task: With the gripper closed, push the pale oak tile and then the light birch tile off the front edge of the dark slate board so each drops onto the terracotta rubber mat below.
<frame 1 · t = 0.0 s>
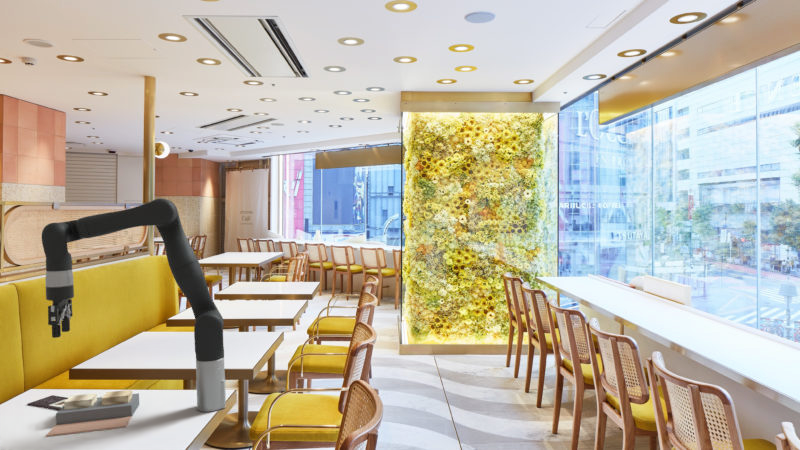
hand: (61, 334, 166), 29 cm above the table, tool pointing down, fingers open, 8 cm apart
chocolate bar: (57, 405, 186), on the table
oak tile: (117, 397, 176), point 5 cm above the table, touching slate board
rubber mat: (90, 426, 164), on the table
birch tile: (81, 401, 173), point 5 cm above the table, touching slate board
slate board: (99, 414, 174), on the table
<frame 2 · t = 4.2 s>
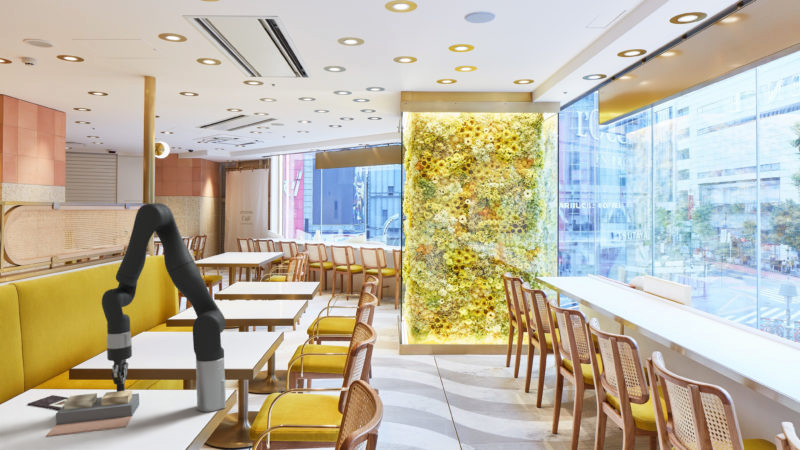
hand: (120, 394, 180), 5 cm above the table, tool pointing down, fingers closed
oak tile: (117, 397, 175), point 5 cm above the table, touching gripper
everything else where it was.
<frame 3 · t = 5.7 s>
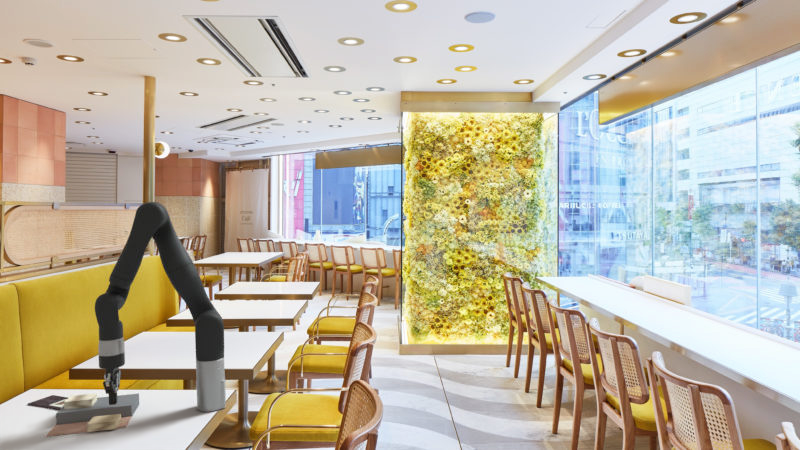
hand: (113, 403, 170), 5 cm above the table, tool pointing down, fingers closed
oak tile: (104, 422, 163), point 2 cm above the table, tilted 180°, touching rubber mat
everything else where it was.
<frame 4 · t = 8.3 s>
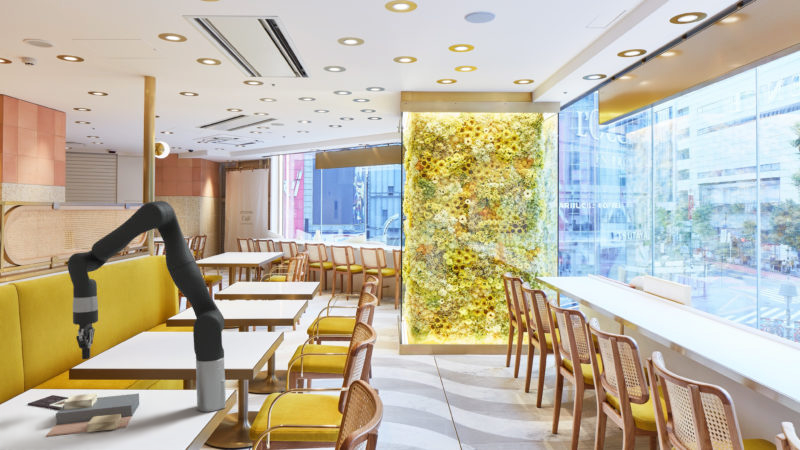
hand: (86, 358, 180), 18 cm above the table, tool pointing down, fingers closed
nothing on the table moved.
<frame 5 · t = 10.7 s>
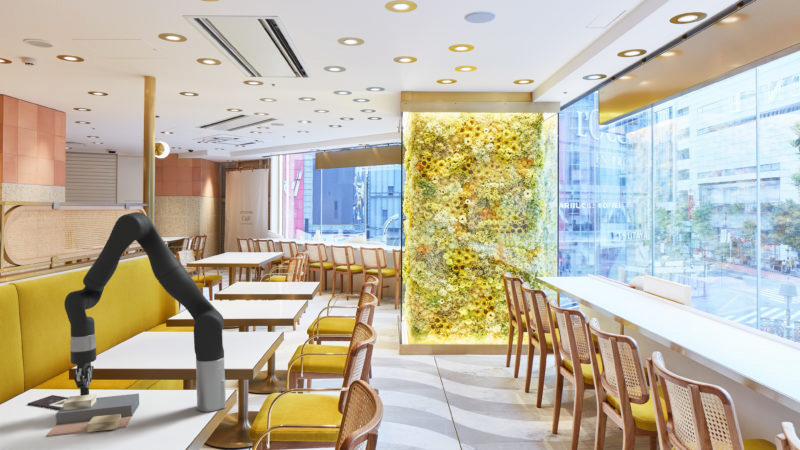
hand: (84, 397, 177), 5 cm above the table, tool pointing down, fingers closed
birch tile: (80, 401, 172), point 5 cm above the table
everything else where it was.
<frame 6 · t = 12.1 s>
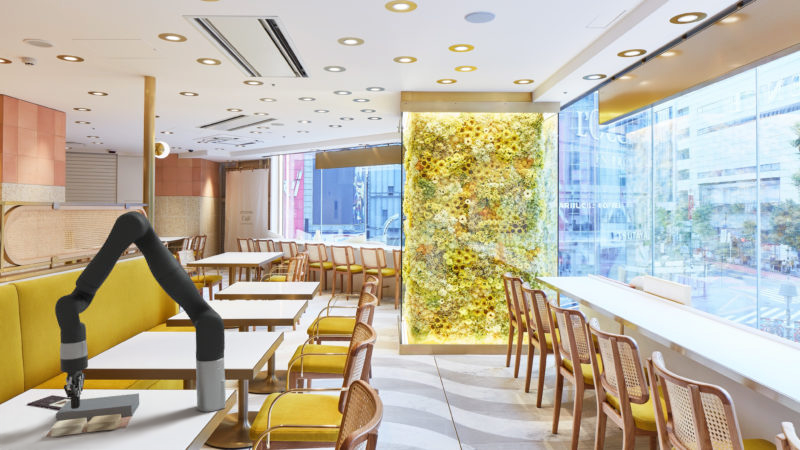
hand: (75, 407, 168), 5 cm above the table, tool pointing down, fingers closed
birch tile: (69, 426, 160), point 2 cm above the table, tilted 180°, touching rubber mat
everything else where it was.
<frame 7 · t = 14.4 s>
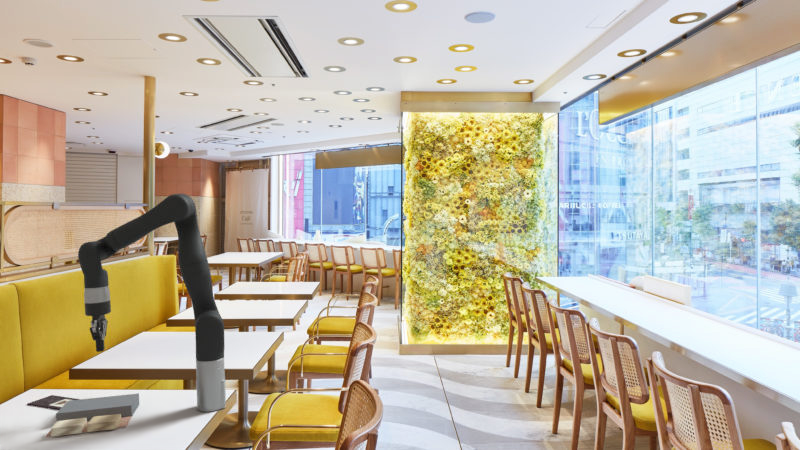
hand: (100, 350, 174), 22 cm above the table, tool pointing down, fingers closed
nothing on the table moved.
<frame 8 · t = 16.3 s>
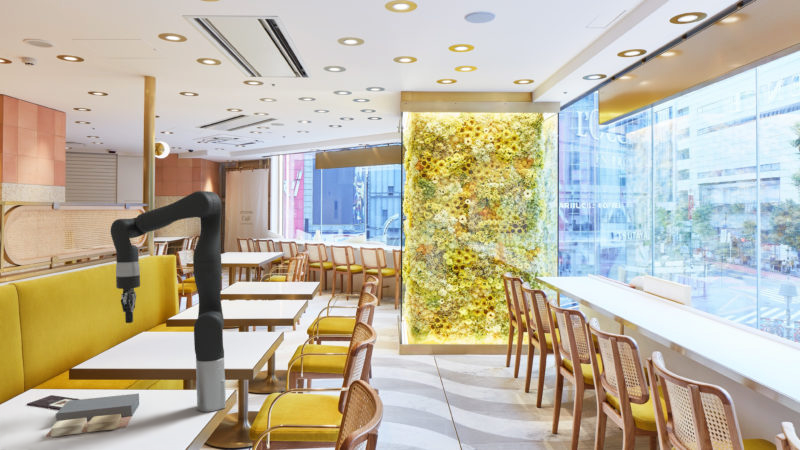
hand: (129, 322, 185), 29 cm above the table, tool pointing down, fingers closed
nothing on the table moved.
at the end: oak tile inside the target area (2.3 cm from its centre), point 1.7 cm above the table; birch tile inside the target area (2.5 cm from its centre), point 1.7 cm above the table; chocolate bar moved 0.7 cm from its start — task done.
